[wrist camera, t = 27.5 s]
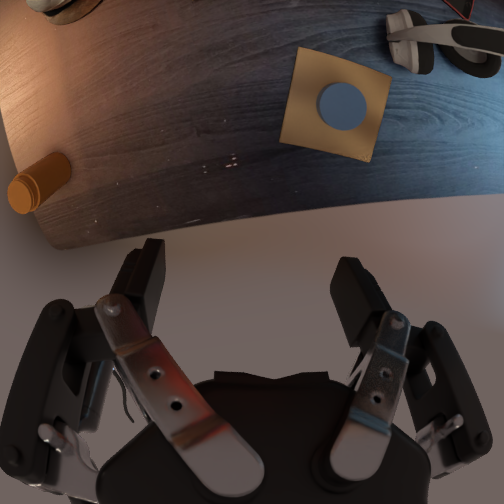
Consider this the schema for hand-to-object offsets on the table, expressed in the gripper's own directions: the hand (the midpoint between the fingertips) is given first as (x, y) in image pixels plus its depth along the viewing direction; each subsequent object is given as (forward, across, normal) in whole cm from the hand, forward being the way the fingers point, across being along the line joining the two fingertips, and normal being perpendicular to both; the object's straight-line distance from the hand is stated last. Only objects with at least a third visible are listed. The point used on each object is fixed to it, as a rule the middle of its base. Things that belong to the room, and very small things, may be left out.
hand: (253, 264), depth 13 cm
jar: (+24, +26, +4) cm, 35 cm away
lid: (+21, -10, -7) cm, 25 cm away
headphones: (+23, -21, -20) cm, 37 cm away
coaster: (+23, -10, -7) cm, 26 cm away
